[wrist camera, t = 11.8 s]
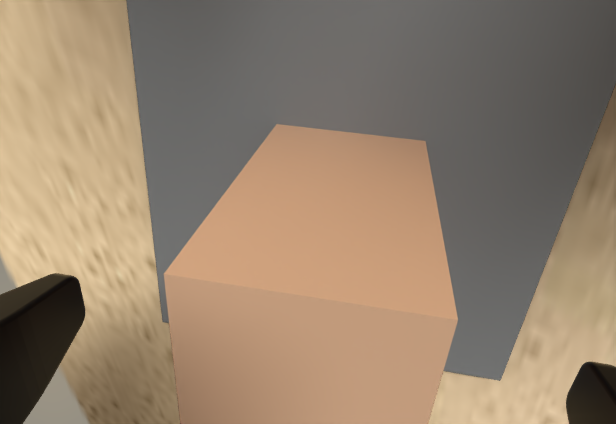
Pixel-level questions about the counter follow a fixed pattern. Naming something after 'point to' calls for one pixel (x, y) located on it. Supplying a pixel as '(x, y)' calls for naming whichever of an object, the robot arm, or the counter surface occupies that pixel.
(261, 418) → the block
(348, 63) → the mat
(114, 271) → the counter surface
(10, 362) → the robot arm
